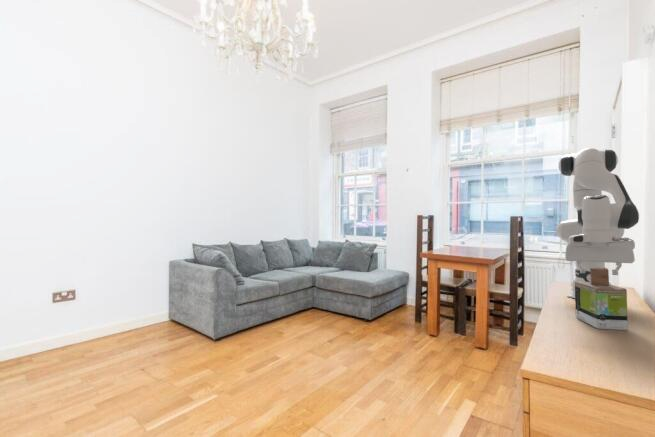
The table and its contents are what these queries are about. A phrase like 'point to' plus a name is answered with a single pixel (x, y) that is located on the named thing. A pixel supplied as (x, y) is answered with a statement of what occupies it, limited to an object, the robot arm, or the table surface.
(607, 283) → the walnut block
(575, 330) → the table surface
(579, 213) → the robot arm
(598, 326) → the tea box
